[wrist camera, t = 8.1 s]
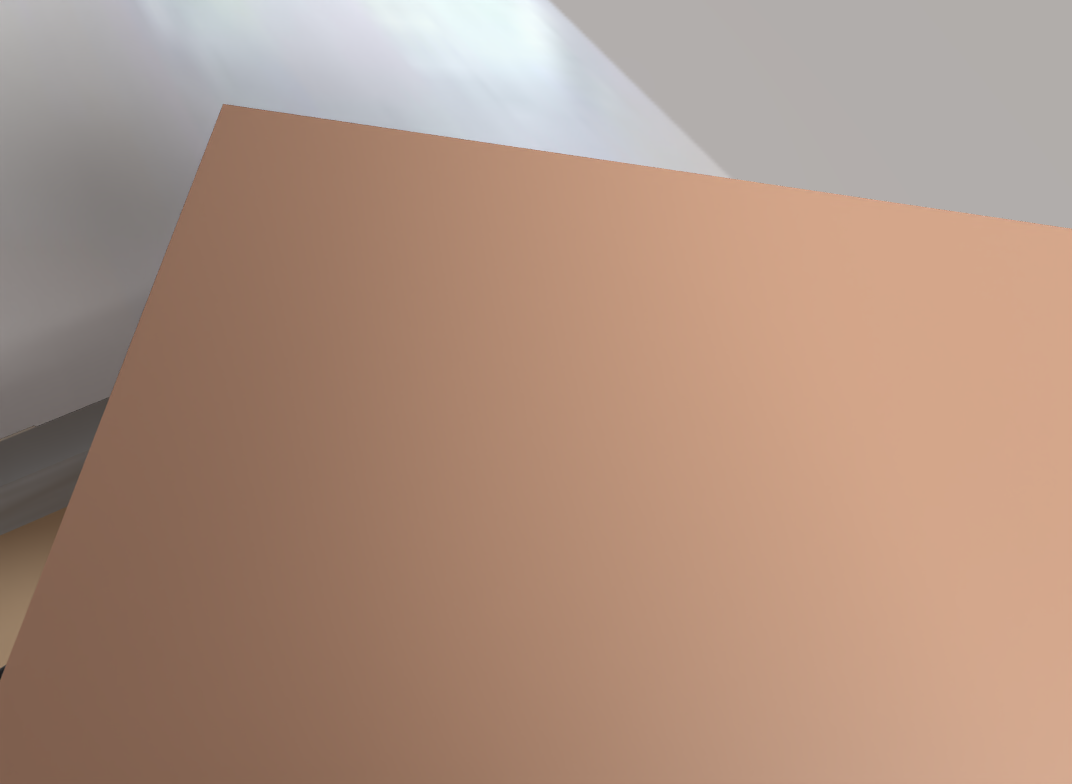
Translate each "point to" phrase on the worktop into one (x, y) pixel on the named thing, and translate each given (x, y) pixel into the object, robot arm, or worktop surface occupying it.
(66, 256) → the worktop surface
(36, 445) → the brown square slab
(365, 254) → the carton
